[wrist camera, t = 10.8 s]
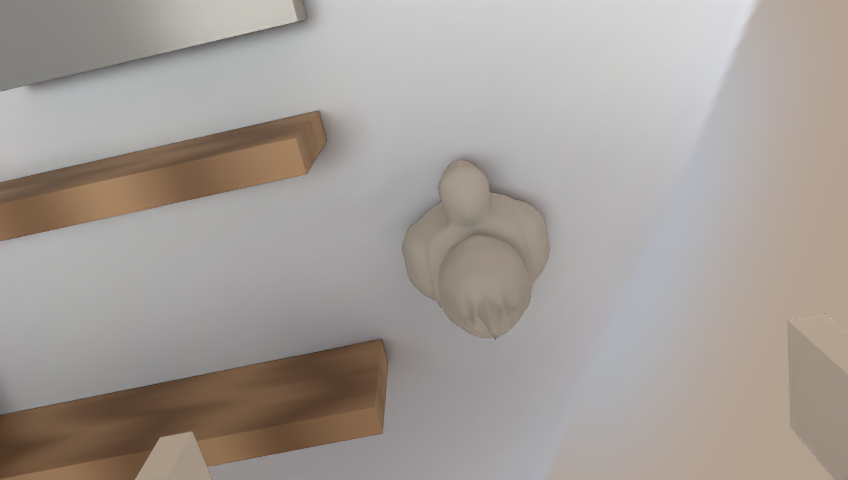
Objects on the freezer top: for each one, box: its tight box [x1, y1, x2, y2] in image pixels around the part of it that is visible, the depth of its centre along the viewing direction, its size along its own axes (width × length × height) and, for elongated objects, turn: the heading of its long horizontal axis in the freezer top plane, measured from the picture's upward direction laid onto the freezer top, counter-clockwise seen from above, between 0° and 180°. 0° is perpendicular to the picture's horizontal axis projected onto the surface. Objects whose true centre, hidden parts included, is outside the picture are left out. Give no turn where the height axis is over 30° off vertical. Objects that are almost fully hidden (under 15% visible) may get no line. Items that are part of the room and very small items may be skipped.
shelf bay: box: [0, 111, 388, 480], centre depth 25 cm, size 19×11×5 cm, turn 102°
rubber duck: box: [402, 160, 549, 340], centre depth 23 cm, size 5×7×8 cm
